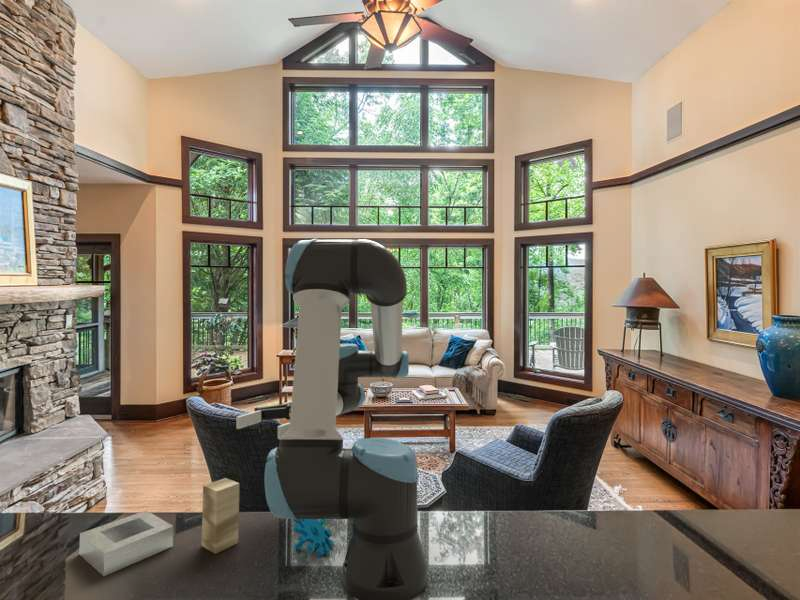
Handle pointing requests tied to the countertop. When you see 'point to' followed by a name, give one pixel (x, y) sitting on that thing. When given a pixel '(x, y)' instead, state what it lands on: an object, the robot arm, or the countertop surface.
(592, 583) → the countertop surface
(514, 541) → the countertop surface
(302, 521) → the blue lumpy piece
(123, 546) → the grey square frame block
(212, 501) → the upright pine post
